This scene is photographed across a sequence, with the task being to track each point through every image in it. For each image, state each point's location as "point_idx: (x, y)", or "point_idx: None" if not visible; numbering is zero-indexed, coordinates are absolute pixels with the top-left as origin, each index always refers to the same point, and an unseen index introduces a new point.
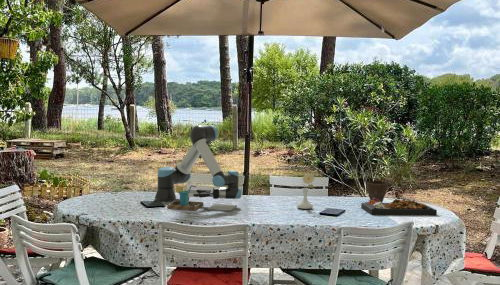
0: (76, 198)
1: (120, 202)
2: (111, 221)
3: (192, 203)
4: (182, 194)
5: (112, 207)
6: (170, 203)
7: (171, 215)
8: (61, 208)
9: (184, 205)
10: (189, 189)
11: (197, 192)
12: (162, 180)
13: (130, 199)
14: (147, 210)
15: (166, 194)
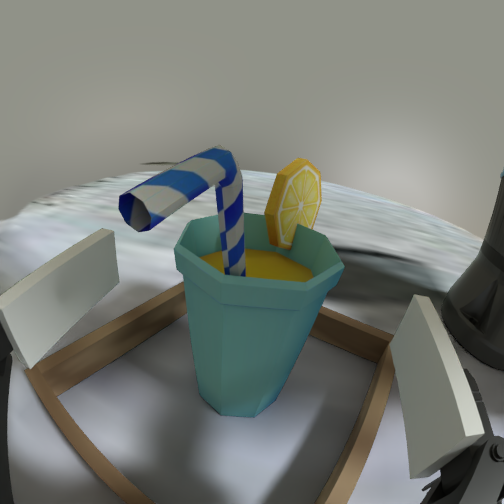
0: (404, 205)
1: (377, 226)
2: (109, 177)
3: (333, 475)
4: (211, 246)
5: None
6: None
7: (45, 244)
8: None
9: (126, 322)
10: (220, 227)
11: (443, 482)
12: (498, 198)
13: (437, 251)
14: None
15: (471, 290)
